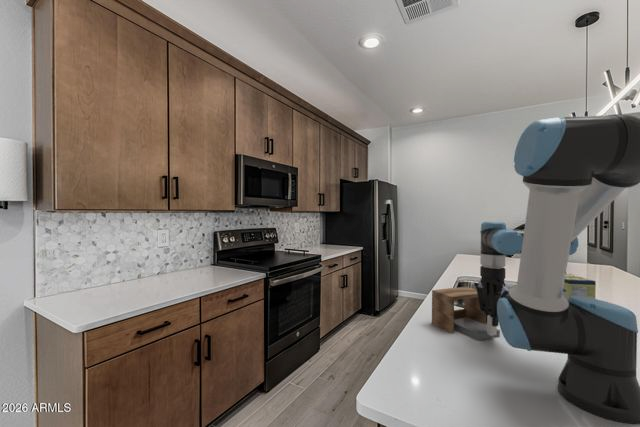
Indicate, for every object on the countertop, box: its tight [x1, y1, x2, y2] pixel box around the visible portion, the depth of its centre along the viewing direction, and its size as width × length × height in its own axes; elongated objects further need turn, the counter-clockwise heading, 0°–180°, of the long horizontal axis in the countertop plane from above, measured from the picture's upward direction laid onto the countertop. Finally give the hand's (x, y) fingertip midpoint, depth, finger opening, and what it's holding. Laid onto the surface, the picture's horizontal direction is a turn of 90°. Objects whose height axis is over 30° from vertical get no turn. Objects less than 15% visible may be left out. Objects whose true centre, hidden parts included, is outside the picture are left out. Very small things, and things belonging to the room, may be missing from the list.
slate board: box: [454, 317, 501, 341], centre depth 110 cm, size 14×10×2 cm
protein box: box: [562, 273, 597, 299], centre depth 135 cm, size 10×16×16 cm
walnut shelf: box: [431, 286, 487, 334], centre depth 115 cm, size 10×18×13 cm, turn 112°
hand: (491, 334), depth 102 cm, fingers closed
